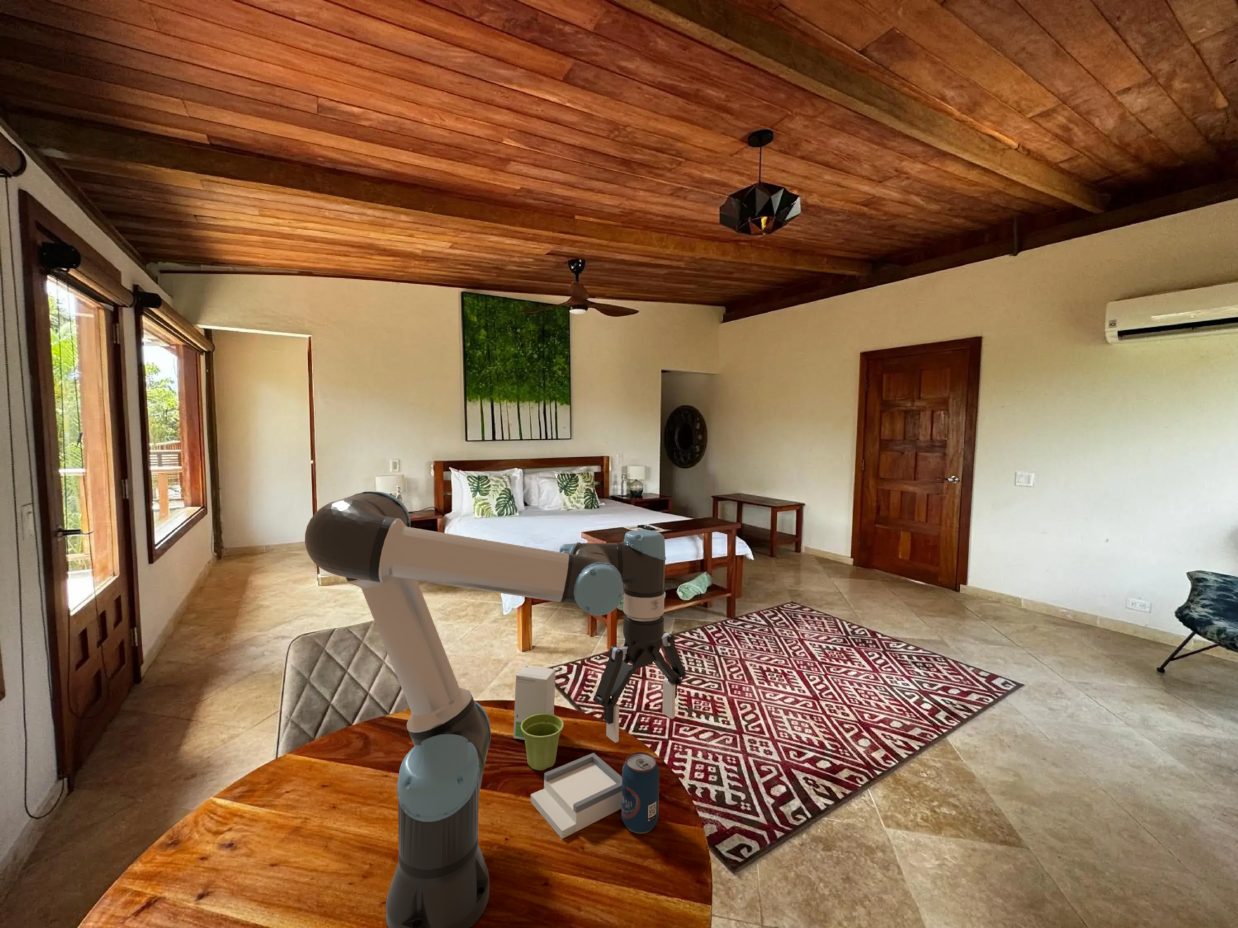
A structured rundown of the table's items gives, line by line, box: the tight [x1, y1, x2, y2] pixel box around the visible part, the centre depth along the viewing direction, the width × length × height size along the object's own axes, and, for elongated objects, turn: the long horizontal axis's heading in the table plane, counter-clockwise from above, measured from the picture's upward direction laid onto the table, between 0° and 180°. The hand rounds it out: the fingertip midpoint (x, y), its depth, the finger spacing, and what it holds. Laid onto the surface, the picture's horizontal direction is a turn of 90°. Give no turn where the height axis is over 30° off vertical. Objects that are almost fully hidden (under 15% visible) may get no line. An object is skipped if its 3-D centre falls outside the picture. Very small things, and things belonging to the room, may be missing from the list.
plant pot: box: [521, 713, 564, 771], centre depth 117 cm, size 9×9×9 cm
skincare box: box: [513, 664, 556, 741], centre depth 128 cm, size 8×7×16 cm
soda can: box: [620, 751, 660, 835], centre depth 99 cm, size 7×7×12 cm
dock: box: [530, 752, 622, 840], centre depth 104 cm, size 15×12×5 cm
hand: (641, 726), depth 99 cm, fingers open, 13 cm apart
